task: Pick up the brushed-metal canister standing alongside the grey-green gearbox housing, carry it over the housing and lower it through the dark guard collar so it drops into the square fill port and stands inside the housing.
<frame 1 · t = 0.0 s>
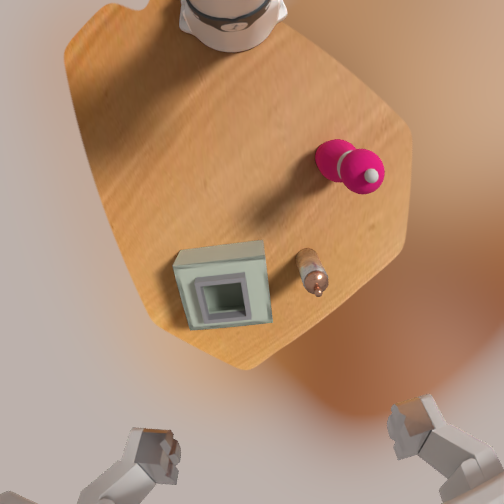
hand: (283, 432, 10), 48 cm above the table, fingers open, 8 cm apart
pepper mill: (331, 157, 52), on the table
gearbox: (226, 277, 61), on the table
canister: (306, 258, 60), on the table
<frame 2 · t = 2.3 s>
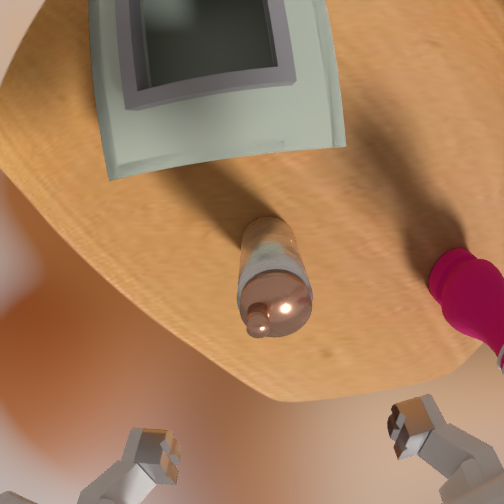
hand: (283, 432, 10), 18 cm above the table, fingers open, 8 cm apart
pepper mill: (450, 273, 28), on the table
gearbox: (217, 52, 20), on the table
canister: (268, 241, 26), on the table
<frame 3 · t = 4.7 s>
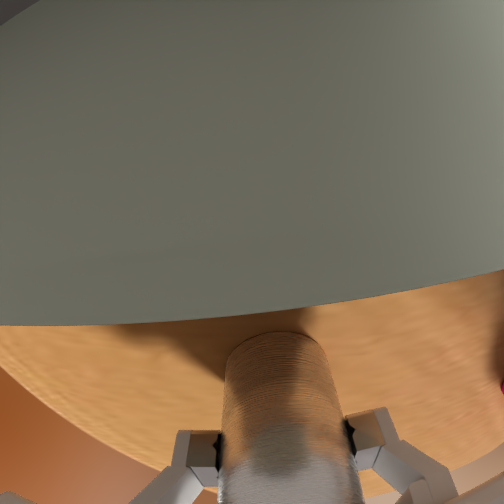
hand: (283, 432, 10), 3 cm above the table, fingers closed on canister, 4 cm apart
canister: (276, 370, 13), on the table, touching gripper
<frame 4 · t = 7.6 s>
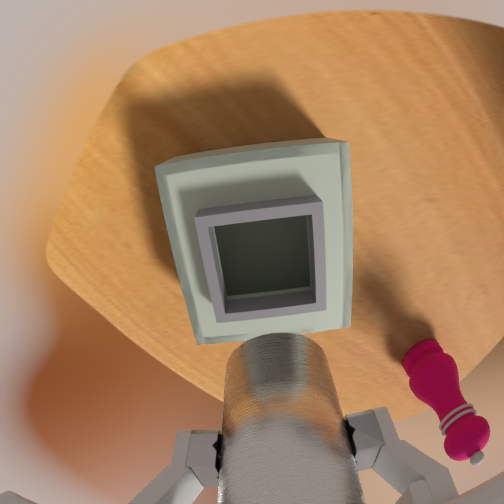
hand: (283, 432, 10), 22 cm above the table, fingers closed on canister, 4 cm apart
pepper mill: (420, 355, 38), on the table
gearbox: (261, 226, 30), on the table
canister: (277, 371, 13), point 19 cm above the table, touching gripper
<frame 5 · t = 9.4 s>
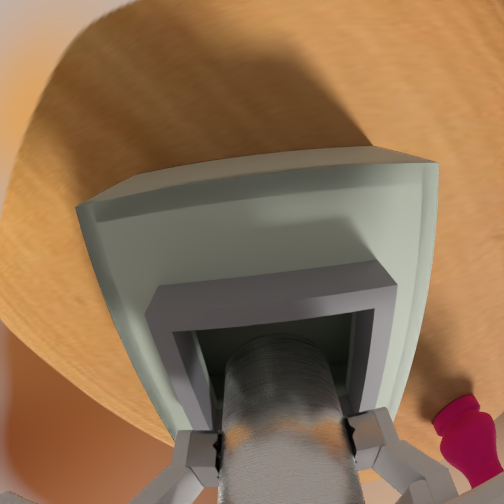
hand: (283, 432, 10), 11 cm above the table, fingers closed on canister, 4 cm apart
pepper mill: (453, 410, 28), on the table
gearbox: (269, 282, 20), on the table
canister: (277, 371, 13), point 8 cm above the table, touching gripper
when the fingers open (10 cm above the table, at t = 10.6 s): canister drops 5 cm, resting on gearbox.
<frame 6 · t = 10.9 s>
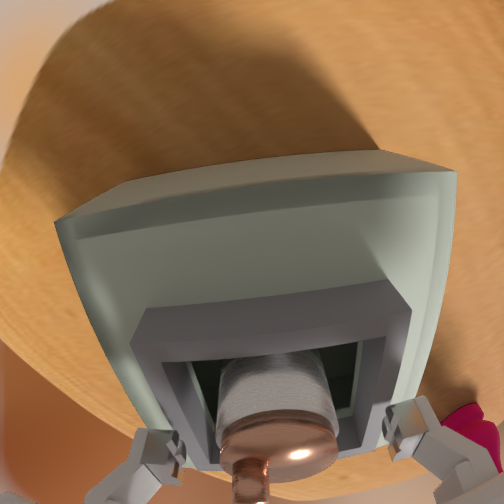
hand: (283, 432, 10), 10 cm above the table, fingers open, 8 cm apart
pepper mill: (457, 418, 26), on the table
gearbox: (268, 296, 18), on the table
canister: (265, 303, 18), point 1 cm above the table, touching gearbox
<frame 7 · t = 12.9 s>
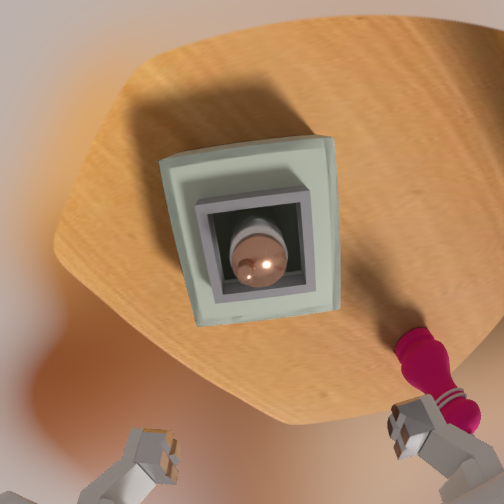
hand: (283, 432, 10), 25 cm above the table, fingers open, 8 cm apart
pepper mill: (412, 342, 40), on the table
gearbox: (256, 217, 32), on the table
canister: (254, 219, 32), point 1 cm above the table, touching gearbox
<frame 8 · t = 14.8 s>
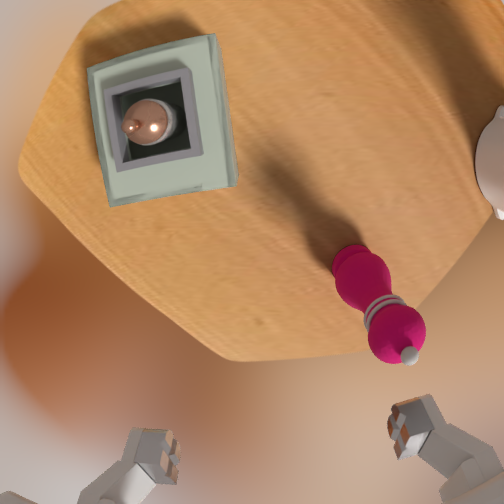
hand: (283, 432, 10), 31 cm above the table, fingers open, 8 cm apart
pepper mill: (352, 264, 42), on the table
gearbox: (172, 120, 34), on the table
canister: (168, 120, 33), point 1 cm above the table, touching gearbox
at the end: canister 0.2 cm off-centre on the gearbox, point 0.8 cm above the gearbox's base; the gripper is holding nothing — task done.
